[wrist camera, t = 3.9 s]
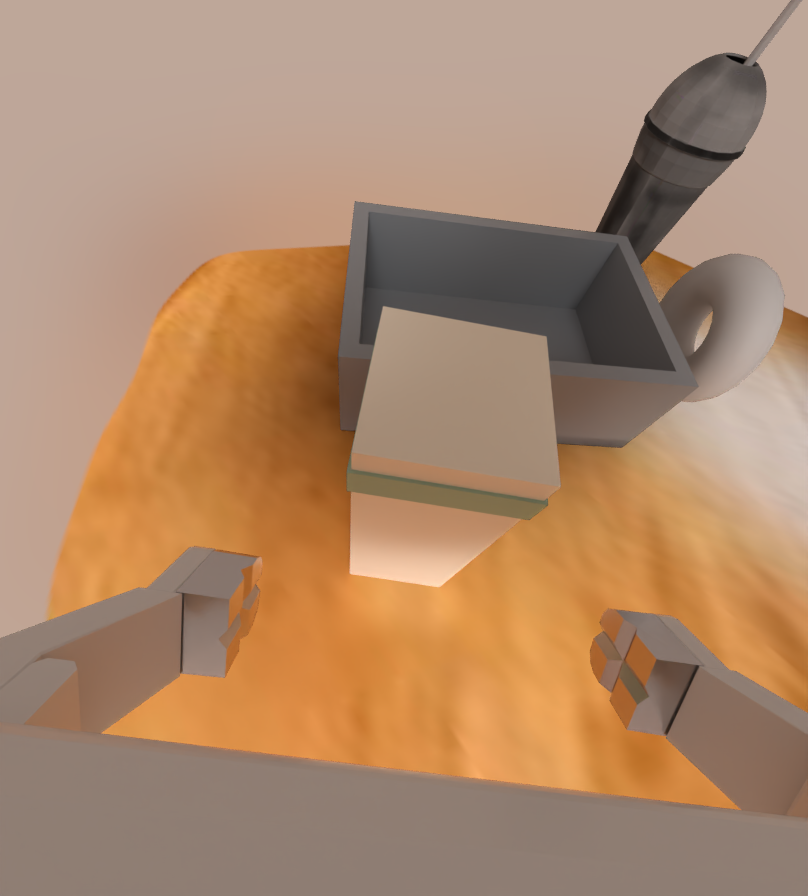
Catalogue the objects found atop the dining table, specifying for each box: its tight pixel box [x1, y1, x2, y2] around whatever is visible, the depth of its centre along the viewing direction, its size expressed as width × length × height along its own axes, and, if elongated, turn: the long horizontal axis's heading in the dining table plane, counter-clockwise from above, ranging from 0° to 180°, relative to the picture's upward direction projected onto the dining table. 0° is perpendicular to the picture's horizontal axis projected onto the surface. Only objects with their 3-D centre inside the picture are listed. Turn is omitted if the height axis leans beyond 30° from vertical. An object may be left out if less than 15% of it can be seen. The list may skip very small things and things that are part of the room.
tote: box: [338, 201, 699, 448], centre depth 27 cm, size 20×14×7 cm
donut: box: [659, 254, 785, 402], centre depth 27 cm, size 10×4×10 cm, turn 174°
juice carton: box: [347, 306, 561, 587], centre depth 16 cm, size 5×5×14 cm
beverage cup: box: [596, 0, 802, 265], centre depth 29 cm, size 7×7×20 cm
